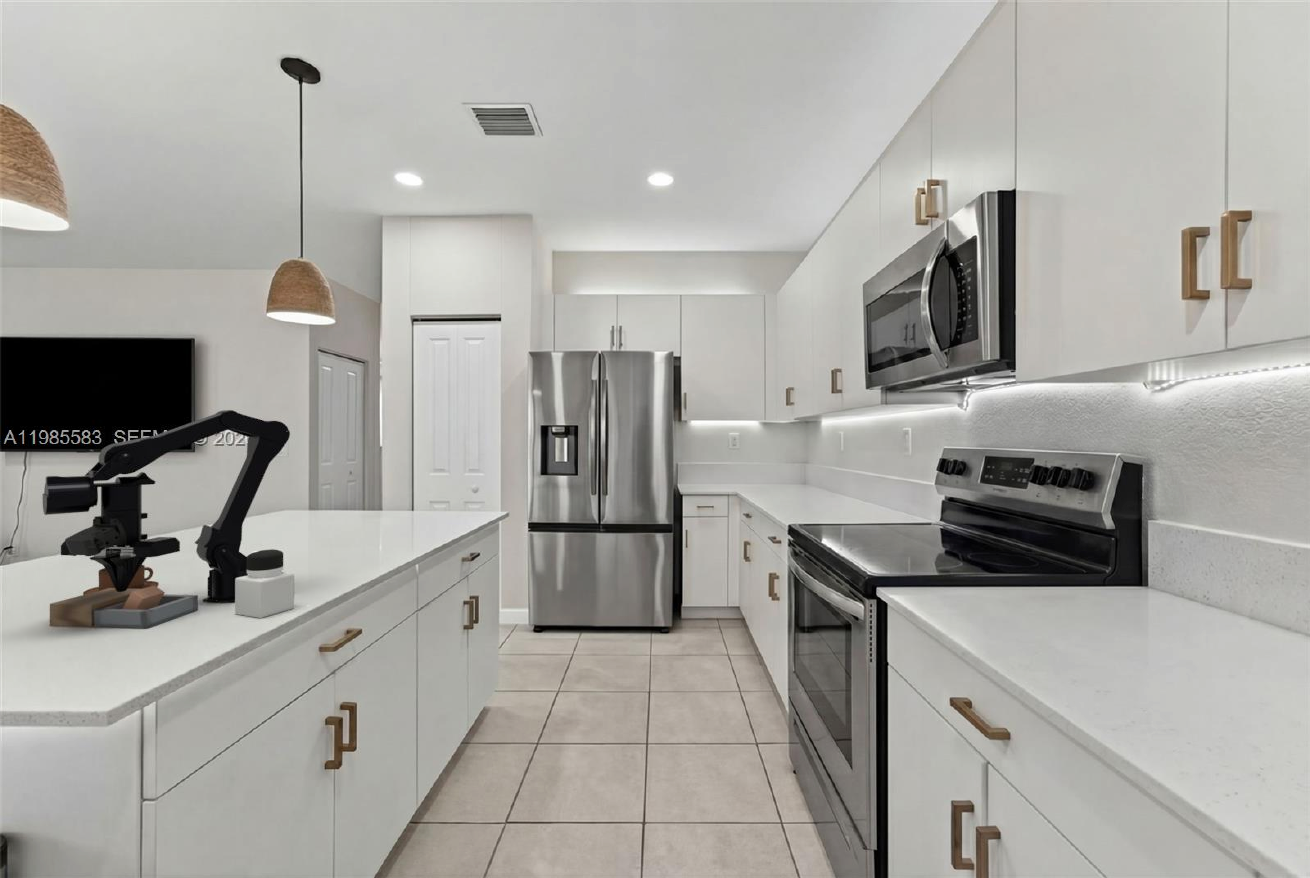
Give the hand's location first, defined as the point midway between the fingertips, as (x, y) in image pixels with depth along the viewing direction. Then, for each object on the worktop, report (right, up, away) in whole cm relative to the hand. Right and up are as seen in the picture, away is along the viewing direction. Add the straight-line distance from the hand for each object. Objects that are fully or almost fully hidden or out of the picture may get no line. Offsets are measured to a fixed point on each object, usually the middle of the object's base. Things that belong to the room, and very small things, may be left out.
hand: (121, 591), depth 111 cm
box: (+5, -5, 0) cm, 7 cm away
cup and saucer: (-13, -5, +15) cm, 20 cm away
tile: (+4, -1, -1) cm, 4 cm away
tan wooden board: (-4, -5, 0) cm, 6 cm away
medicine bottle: (+24, -5, +5) cm, 25 cm away
